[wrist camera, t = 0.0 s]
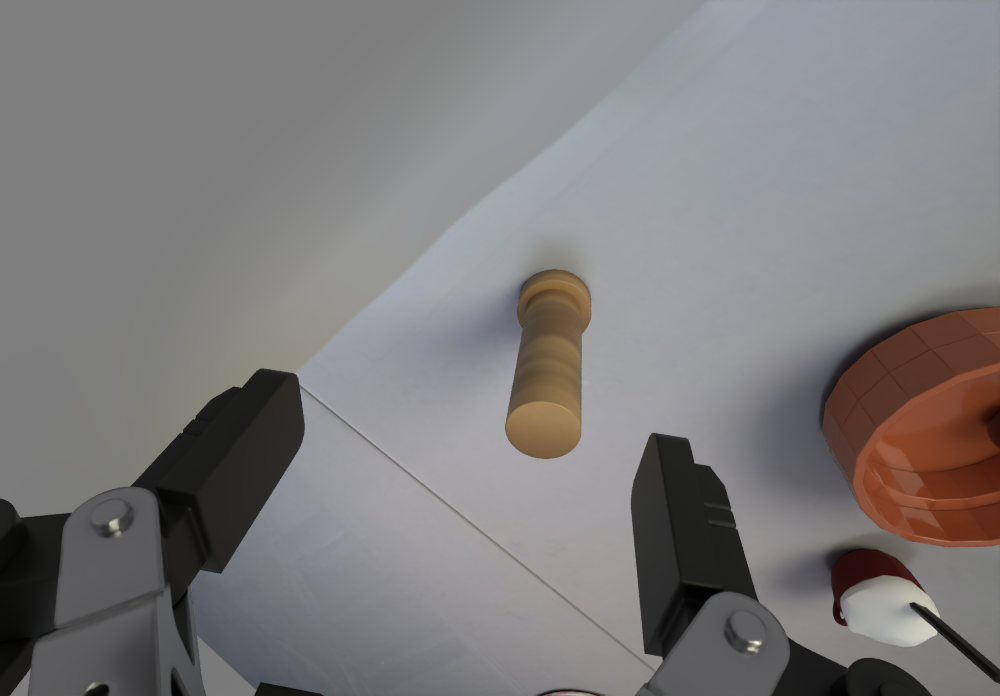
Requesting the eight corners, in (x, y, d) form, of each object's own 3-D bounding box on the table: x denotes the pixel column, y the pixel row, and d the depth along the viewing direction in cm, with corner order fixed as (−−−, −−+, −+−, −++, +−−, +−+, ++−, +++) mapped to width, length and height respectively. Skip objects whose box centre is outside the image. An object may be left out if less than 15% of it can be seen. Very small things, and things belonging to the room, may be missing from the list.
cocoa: (830, 595, 49) (893, 749, 39) (794, 560, 47) (851, 711, 37) (943, 558, 44) (1047, 721, 34) (909, 517, 42) (1009, 676, 32)
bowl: (883, 283, 32) (937, 335, 27) (1146, 321, 32) (1251, 382, 27) (784, 460, 41) (812, 525, 36) (989, 494, 40) (1047, 564, 35)
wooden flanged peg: (524, 264, 35) (497, 383, 24) (597, 275, 35) (603, 400, 24) (515, 326, 38) (488, 459, 27) (583, 337, 37) (583, 475, 26)
